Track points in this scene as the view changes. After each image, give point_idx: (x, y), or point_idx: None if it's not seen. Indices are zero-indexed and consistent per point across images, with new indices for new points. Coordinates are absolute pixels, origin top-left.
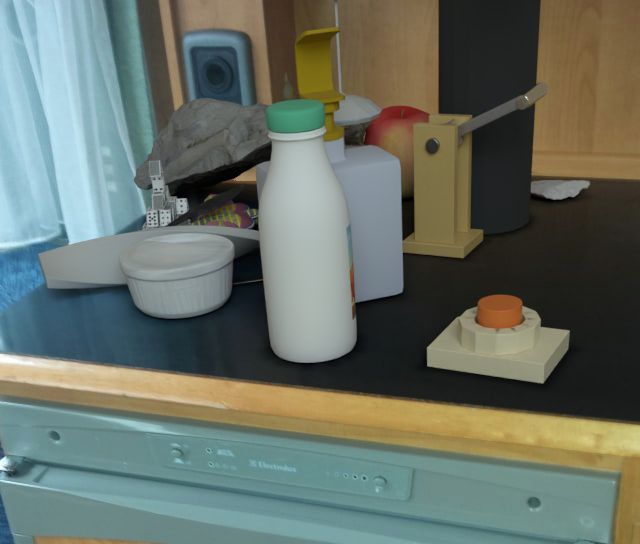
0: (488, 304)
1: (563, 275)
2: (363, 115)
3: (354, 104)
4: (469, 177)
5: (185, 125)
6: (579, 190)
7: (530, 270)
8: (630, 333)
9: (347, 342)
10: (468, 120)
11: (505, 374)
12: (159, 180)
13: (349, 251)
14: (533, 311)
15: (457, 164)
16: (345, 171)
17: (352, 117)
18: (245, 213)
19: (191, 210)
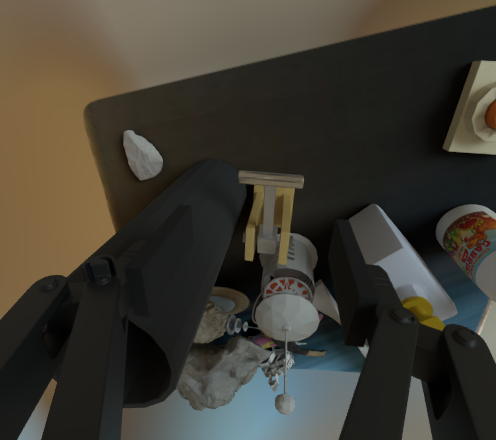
0: None
1: (317, 104)
2: (304, 302)
3: (299, 314)
4: (256, 207)
5: (233, 396)
6: (138, 136)
7: (310, 131)
8: (439, 18)
9: (484, 207)
10: (266, 227)
11: None
12: (276, 378)
13: None
14: (492, 90)
15: (282, 217)
16: (429, 276)
17: (311, 307)
18: None
19: (290, 350)
